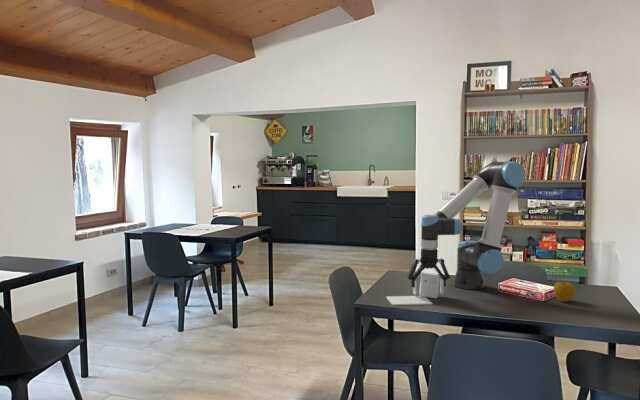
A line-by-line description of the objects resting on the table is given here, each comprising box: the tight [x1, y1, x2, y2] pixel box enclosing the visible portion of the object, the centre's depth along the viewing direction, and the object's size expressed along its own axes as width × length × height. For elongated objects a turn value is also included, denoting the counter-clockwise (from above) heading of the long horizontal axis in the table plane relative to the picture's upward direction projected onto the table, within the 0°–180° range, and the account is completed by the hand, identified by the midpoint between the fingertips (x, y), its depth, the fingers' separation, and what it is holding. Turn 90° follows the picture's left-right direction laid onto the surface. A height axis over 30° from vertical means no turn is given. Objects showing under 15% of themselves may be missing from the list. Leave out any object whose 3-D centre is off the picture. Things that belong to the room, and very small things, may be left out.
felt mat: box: [385, 295, 433, 306], centre depth 215 cm, size 18×12×1 cm, turn 95°
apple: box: [553, 281, 576, 303], centre depth 216 cm, size 9×8×9 cm
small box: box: [418, 271, 441, 299], centre depth 222 cm, size 8×6×10 cm
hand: (428, 293), depth 222 cm, fingers open, 12 cm apart
